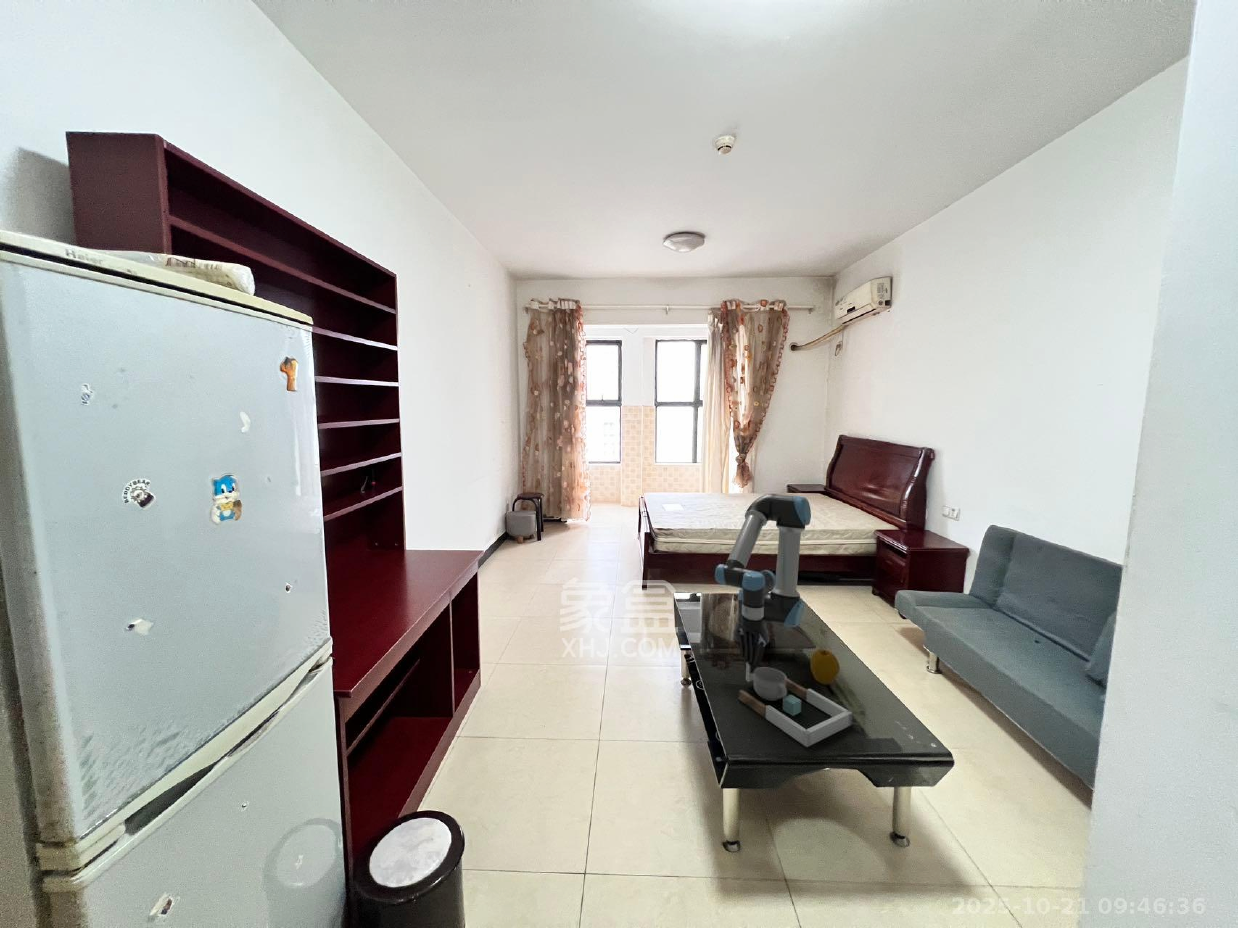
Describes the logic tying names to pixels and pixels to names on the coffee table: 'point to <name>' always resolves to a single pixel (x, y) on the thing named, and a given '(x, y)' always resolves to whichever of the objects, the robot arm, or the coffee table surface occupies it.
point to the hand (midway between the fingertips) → (750, 679)
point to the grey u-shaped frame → (819, 731)
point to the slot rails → (761, 707)
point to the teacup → (770, 683)
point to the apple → (824, 666)
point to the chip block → (791, 705)
